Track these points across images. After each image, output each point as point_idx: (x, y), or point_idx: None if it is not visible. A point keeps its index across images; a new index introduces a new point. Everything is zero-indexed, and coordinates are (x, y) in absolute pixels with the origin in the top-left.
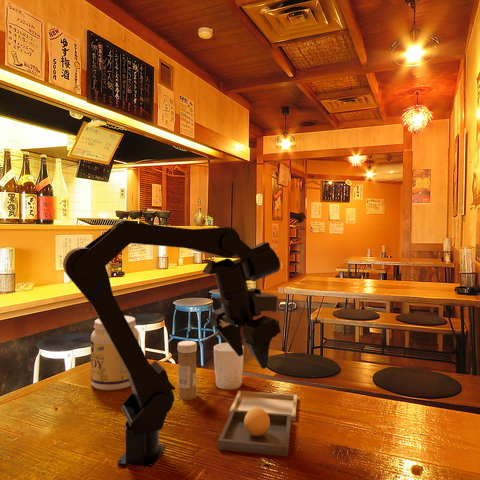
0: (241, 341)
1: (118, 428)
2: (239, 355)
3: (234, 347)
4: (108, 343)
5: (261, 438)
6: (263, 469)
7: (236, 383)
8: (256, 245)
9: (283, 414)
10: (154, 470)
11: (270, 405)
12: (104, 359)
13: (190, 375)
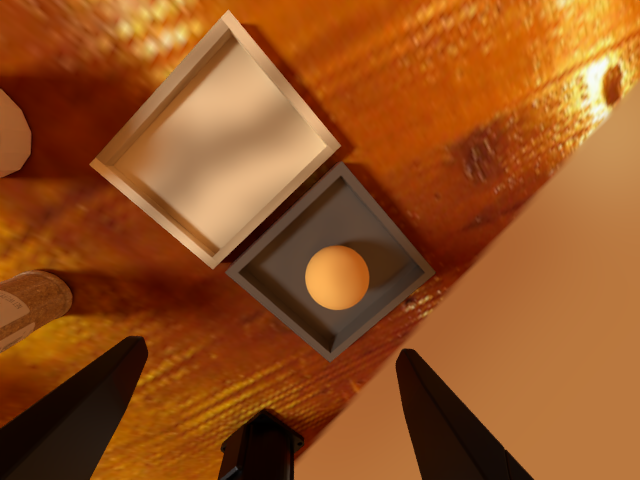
0: (59, 427)
1: (140, 451)
2: (144, 357)
3: (103, 440)
4: None
5: None
6: (413, 311)
7: (11, 124)
8: None
9: (328, 177)
10: (307, 435)
11: (226, 136)
12: None
13: None
